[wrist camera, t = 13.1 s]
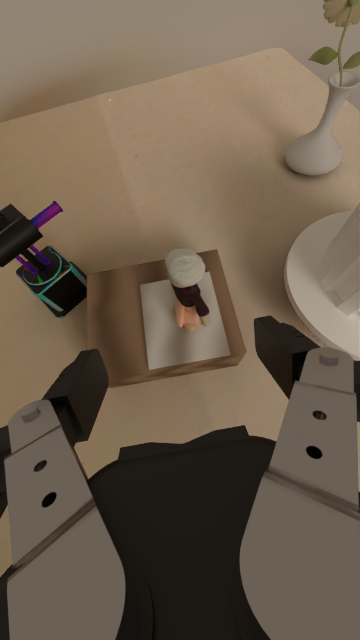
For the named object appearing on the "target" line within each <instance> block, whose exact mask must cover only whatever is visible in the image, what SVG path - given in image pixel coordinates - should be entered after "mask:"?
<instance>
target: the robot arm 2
mask: <svg viewBox="0 0 360 640" xmlns="http://www.w3.org/2000/svg"><path fill="white" fill-rule="evenodd" d="M59 212H63V210H62V208H61V207H60V206H59V204H58V203H57V202H55V201H53V204H51V205H50V206H48V207H47V208H46V209H44V210H43V211H42V212H40V213H39V214H38V215H36V216H35V217H33V218H32V219H31V220H29V219H27V218H26V217H25V216H24V215H23V214H21V213H20V212H19V211H18V210H17V209H16V208H15V207H14V206H13V205H11V204H9V205H8V206H6V207H5V208H3V209H2V210H1V211H0V267H4V266H5V265H6V264H8V263H9V262H10V261H11V260H13V259H14V258H16V259H17V260H18V261H19V262H21V263H22V264H23V265H22V266H21V267H20V268H19V269H17V271H16V275H17V276H18V277H19V278H20V279H21V280H22V281H23V282H24V283H25V284H26V286H27V287H28V288H29V289H30V290H31V291H32V292H33V293H34V294H35V295H36V296H37V297H39V298H40V299H41V300H42V301H43V302H44V304H45V305H46V306H47V307H48V308H49V309H50V310H51V311H52V312H53V313H54V314H55V316H56V317H58V318H63V317H64V316H65V315H66V314H67V313H69V312H70V311H71V310H72V309H73V308H74V307H75V306H76V305H78V304H79V303H80V302H81V301H82V300H83V299H84V298H86V297H87V276H86V275H85V274H84V273H83V272H82V271H81V270H80V269H79V268H78V267H77V266H76V265H74V264H73V263H72V262H69V261H68V260H67V259H65V258H64V257H63V256H62V255H61V254H60V253H59V252H58V251H57V250H56V249H55V248H53V247H52V246H47V247H45V248H44V249H43V250H42V251H40V252H39V251H38V250H37V249H36V248H35V247H34V246H33V245H32V244H34V243H35V242H36V241H38V240H39V239H40V238H42V237H43V235H42V234H41V233H40V232H39V231H38V228H39V227H41V226H42V225H43V224H45V223H46V222H47V221H49V220H50V219H51V218H53V217H54V216H55V215H57V214H58V213H59ZM28 247H29V248H30V249H32V250H33V251H34V252H35V253H36V255H35V256H34V255H33V254H32V253H31V252H30V251H28V250H27V248H28ZM19 254H22V255H23V256H24V257H25V258H26V259H28V260H29V261H27V262H26V261H24V260H23V259H22V258H21V257H20V256H19Z"/></svg>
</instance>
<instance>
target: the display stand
mask: <svg viewBox="0 0 360 640" xmlns="http://www.w3.org/2000/svg"><path fill="white" fill-rule="evenodd" d="M196 254H197V255H199V256H200V257H201V258H202V260H203V263H204V264H205V273H204V274H203V276H202V281H201V280H200V281H198V282H197V284H198V286H199V289H200V290H201V293H200V295H201V297H202V299H203V301H204V302H205V304H206V305H207V306H208V308H209V311H210V312H209V315H210V317H209V318H210V319H211V324H210V325H209V326H206V327H205V326H203V325H202V324H201V325H200V326H199V327H198V328H197V329H196V330H195V331H192V332H188V331H186V330H185V329H184V327H183V326H182V327H179V326H178V325H177V324H176V315H175V314H174V313H173V306H174V305H175V304H176V295H175V292H174V289H173V288H172V285H171V282H170V281H169V278H168V275H167V267H166V264H165V260H160V261H154V262H149V263H144V264H139V265H134V266H129V267H124V268H119V269H113V270H108V271H103V272H98V273H93V274H88V275H87V350H90V349H96V348H97V349H98V350H99V351H100V354H101V356H102V359H103V362H104V365H105V367H106V370H107V373H108V377H109V385H108V387H109V388H114V387H119V386H125V385H131V384H136V383H142V382H147V381H153V380H158V379H164V378H169V377H175V376H180V375H186V374H191V373H197V372H202V371H208V370H214V369H219V368H225V367H230V366H236V365H238V364H239V362H240V361H241V359H242V358H243V356H244V355H245V353H246V349H245V346H244V342H243V339H242V335H241V332H240V328H239V325H238V321H237V318H236V314H235V311H234V307H233V304H232V300H231V297H230V293H229V290H228V286H227V283H226V279H225V276H224V272H223V269H222V265H221V262H220V258H219V255H218V251H217V249H216V250H211V251H206V252H200V253H196Z"/></svg>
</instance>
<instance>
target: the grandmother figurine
mask: <svg viewBox="0 0 360 640" xmlns="http://www.w3.org/2000/svg"><path fill="white" fill-rule="evenodd" d="M165 264H166V267H167V275H168V278H169V281H170V282H171V285H172V288H173V289H174V292H175V295H176V304H175V305H174V306H173V313H174V314H175V315H176V324H177V325H178V326H179V327H182V326H183V327H184V329H185V330H186V331H188V332H192V331H195V330H196V329H197V328H198V327H199V326H200V325H201V324H202V325H203V326H205V327H206V326H209V325H210V324H211V319H210V318H209V317H210V315H209V312H210V311H209V308H208V306H207V305H206V304H205V302H204V301H203V299H202V297H201V295H200V293H201V290H200V289H199V286H198V284H197V282H198V281H200V280H201V281H202V276H203V274H204V273H205V264H204V263H203V260H202V258H201V257H200V256H199V255H197V254H196V253H194V252H193V251H192V250H191V249H189V248H178V249H173V250H171V251H169V252H168V253H167V255H166V257H165Z"/></svg>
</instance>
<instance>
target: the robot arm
mask: <svg viewBox="0 0 360 640" xmlns="http://www.w3.org/2000/svg"><path fill="white" fill-rule="evenodd" d="M254 332H255V347H256V352H257V355H258V357H259V359H260V360H261V361H262V363H263V364H264V366H265V367H266V368H267V370H268V371H269V373H270V374H271V375H272V377H273V378H274V380H275V381H276V382H277V384H278V385H279V387H280V388H281V389H282V391H283V392H284V393H285V395H286V396H287V398H288V399H289V403H288V406H287V409H286V412H285V416H284V419H283V422H282V426H281V429H280V432H279V436H278V439H277V442H276V441H273V440H271V439H267V438H263V437H258V436H249V435H248V432H247V430H246V427H245V425H243V426H237V427H232V428H226V429H221V430H216V431H212V432H210V433H208V434H205V435H203V436H201V437H198V438H196V439H194V440H191V441H189V442H187V443H184V444H172V443H154V442H150V443H144V444H139V445H133V446H128V447H122V448H120V452H119V457H118V460H116V461H114V462H112V463H110V464H108V465H106V466H105V467H103V468H102V469H100V470H99V471H98V472H97V473H95V474H94V475H93V476H92V477H91V478H90V479H88V477H87V474H86V472H85V470H84V468H83V466H82V464H81V462H80V460H79V457H78V455H77V453H76V451H75V449H74V446H75V443H76V442H82V441H87V440H88V439H89V436H90V433H91V431H92V428H93V425H94V423H95V420H96V417H97V415H98V412H99V409H100V407H101V404H102V401H103V399H104V396H105V393H106V391H107V388H108V385H109V377H108V373H107V370H106V367H105V365H104V362H103V359H102V356H101V354H100V351H99V350H98V349H97V348H96V349H90V350H85V351H81V352H80V354H79V355H78V356H77V358H76V359H75V361H74V362H72V363H71V364H70V365H69V366H67V367H66V368H65V369H64V370H63V371H62V372H61V374H60V375H59V377H58V378H57V379H56V381H55V383H53V385H52V386H51V387H50V389H49V390H48V391H47V393H46V394H45V395H44V397H43V398H42V400H38V401H35V402H32V403H30V404H28V405H26V406H24V407H23V408H21V409H20V410H19V411H17V412H16V413H15V414H14V415H13V416H12V417H11V419H10V420H9V423H8V425H7V426H5V427H2V428H0V518H1V516H2V514H3V512H4V511H5V509H6V507H7V505H8V511H9V523H10V534H11V546H12V558H13V564H12V565H11V566H10V567H9V568H8V569H7V570H6V572H5V573H4V574H3V575H2V576H1V577H0V640H360V492H359V491H358V450H357V422H360V361H356V360H353V358H352V357H351V356H350V355H349V354H348V353H346V352H344V351H341V350H338V349H334V348H321V347H319V346H318V345H317V344H315V343H314V342H313V341H312V340H310V339H309V338H308V337H306V336H305V335H304V334H302V333H301V332H299V330H297V329H296V328H295V327H293V326H291V325H288V324H285V323H279V322H278V321H277V320H275V319H274V318H273V317H272V316H265V317H260V318H255V319H254Z"/></svg>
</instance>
